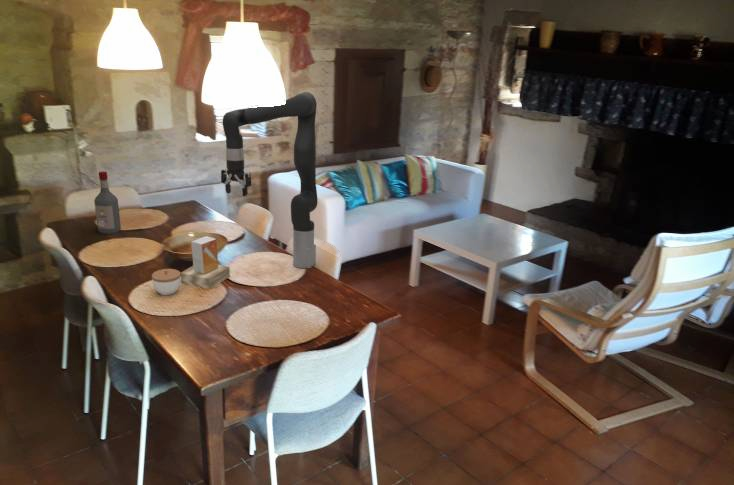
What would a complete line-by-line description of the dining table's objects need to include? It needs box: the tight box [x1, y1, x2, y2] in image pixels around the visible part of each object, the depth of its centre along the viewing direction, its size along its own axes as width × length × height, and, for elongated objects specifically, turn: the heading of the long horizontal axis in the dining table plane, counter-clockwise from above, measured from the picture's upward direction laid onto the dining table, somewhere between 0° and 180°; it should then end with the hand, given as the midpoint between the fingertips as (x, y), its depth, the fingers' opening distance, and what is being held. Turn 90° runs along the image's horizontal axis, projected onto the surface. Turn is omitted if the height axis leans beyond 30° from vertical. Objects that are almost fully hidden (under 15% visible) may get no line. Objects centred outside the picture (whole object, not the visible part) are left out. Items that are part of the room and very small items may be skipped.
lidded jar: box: [151, 268, 181, 296], centre depth 226 cm, size 11×11×9 cm
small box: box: [190, 235, 219, 274], centre depth 236 cm, size 8×6×13 cm
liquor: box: [93, 171, 122, 235], centre depth 283 cm, size 9×9×30 cm
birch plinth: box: [180, 264, 231, 290], centre depth 239 cm, size 14×14×5 cm
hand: (236, 194), depth 253 cm, fingers open, 8 cm apart
